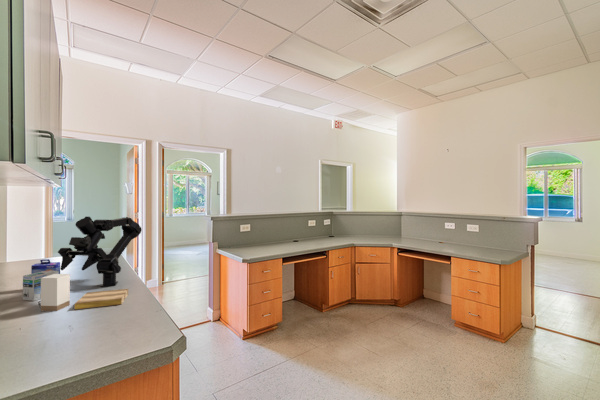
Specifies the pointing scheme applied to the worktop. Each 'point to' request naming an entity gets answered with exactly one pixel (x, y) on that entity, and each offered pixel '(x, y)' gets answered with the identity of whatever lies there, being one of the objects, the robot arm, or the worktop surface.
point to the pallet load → (55, 292)
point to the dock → (101, 299)
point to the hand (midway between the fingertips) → (71, 269)
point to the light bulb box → (34, 284)
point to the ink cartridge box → (45, 266)
